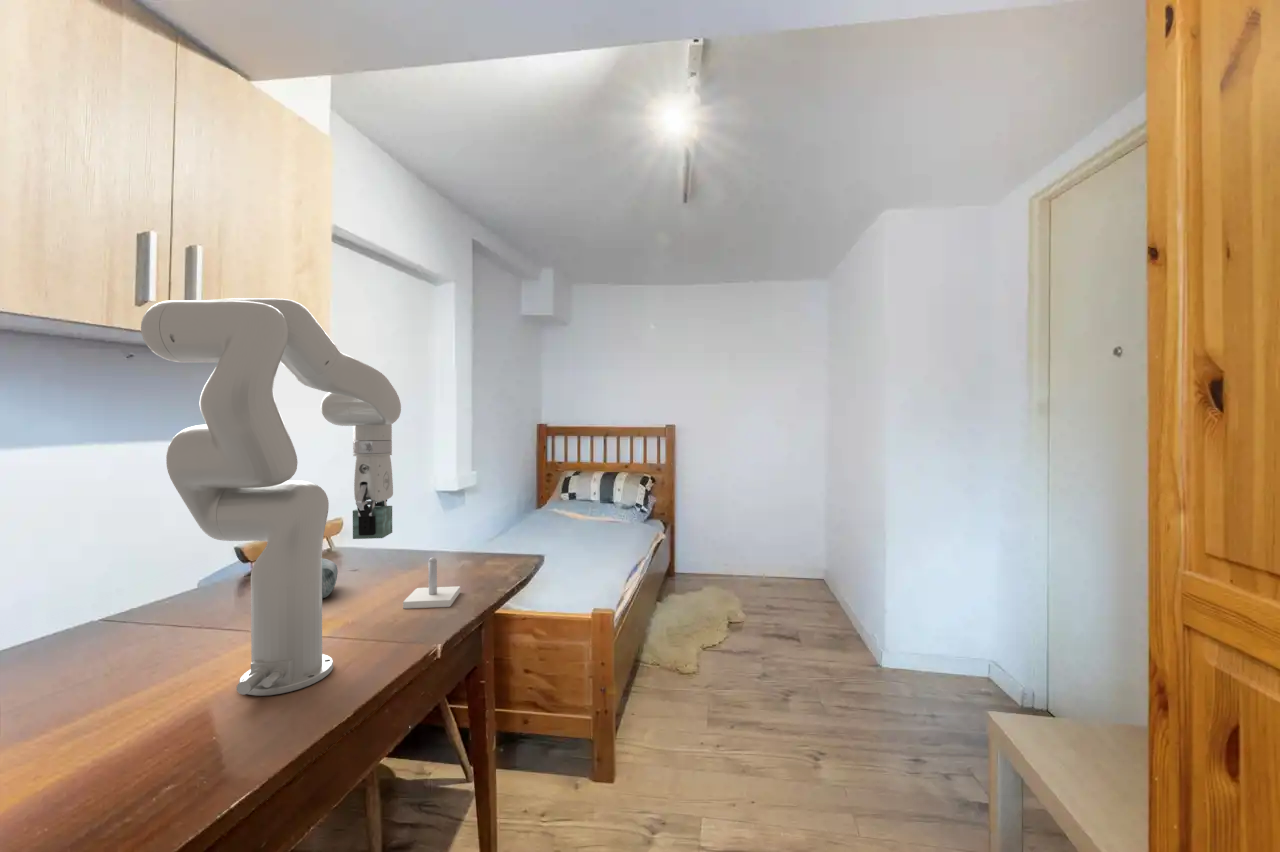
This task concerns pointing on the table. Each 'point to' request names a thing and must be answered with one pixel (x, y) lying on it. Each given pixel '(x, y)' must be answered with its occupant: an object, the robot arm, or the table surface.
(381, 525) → the bead
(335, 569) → the spool
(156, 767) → the table surface
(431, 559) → the white peg stand
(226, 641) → the table surface
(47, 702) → the table surface
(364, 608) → the table surface
